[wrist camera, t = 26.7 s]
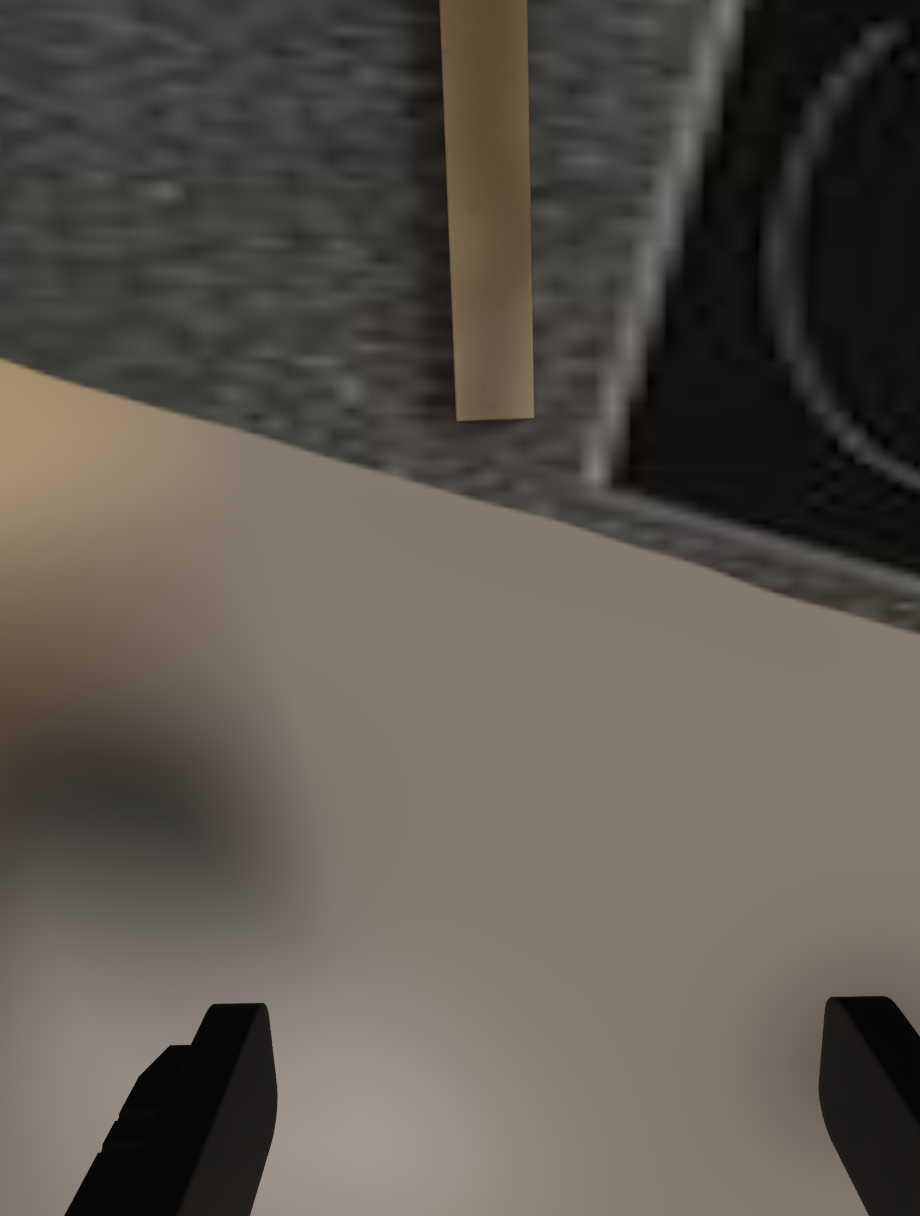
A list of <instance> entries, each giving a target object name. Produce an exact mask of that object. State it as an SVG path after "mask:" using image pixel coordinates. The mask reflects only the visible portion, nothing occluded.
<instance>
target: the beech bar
mask: <svg viewBox="0 0 920 1216" xmlns="http://www.w3.org/2000/svg"><path fill="white" fill-rule="evenodd" d="M439 7H440V32H441V57H442V82H443V107H444V132H445V157H446V181H447V206H448V231H449V256H450V281H451V306H452V331H453V355H454V380H455V405H456V421H457V422H458V423H475V422H499V421H523V420H530V419H532V418H534V371H533V313H532V254H531V196H530V138H529V80H528V22H527V0H439Z"/></svg>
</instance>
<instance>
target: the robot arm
mask: <svg viewBox="0 0 920 1216" xmlns="http://www.w3.org/2000/svg"><path fill="white" fill-rule="evenodd" d="M819 1099H820V1105H821V1110H822V1115H823V1118H824V1122H825V1125H826V1128H827V1131H828V1134H829V1136H830V1138H831V1141H832V1143H833V1145H834V1147H835V1149H836V1151H837V1153H838V1155H839V1157H840V1159H841V1161H842V1163H843V1165H844V1167H845V1169H846V1171H847V1173H848V1175H849V1177H850V1179H851V1181H852V1182H853V1185H854V1187H855V1189H856V1190H857V1192H858V1195H859V1197H860V1198H861V1200H862V1203H863V1205H864V1207H865V1209H866V1211H867V1212H868V1215H869V1216H920V1036H919V1035H918V1033H917V1032H916V1031H915V1029H914V1028H913V1027H912V1025H911V1024H910V1023H909V1021H908V1020H907V1019H906V1017H905V1016H904V1015H903V1013H902V1012H901V1010H900V1009H899V1008H898V1006H897V1005H896V1004H895V1003H894V1002H893V1001H892V1000H891V999H890V998H888V997H885V996H859V997H830V998H829V999H828V1001H827V1003H826V1006H825V1014H824V1026H823V1038H822V1050H821V1062H820V1075H819ZM276 1114H277V1083H276V1073H275V1065H274V1056H273V1047H272V1038H271V1031H270V1021H269V1014H268V1009H267V1006H266V1005H265V1004H264V1003H236V1004H213V1005H212V1006H210V1008H209V1009H208V1011H207V1012H206V1014H205V1017H204V1019H203V1021H202V1023H201V1025H200V1027H199V1029H198V1031H197V1033H196V1035H195V1037H194V1039H193V1041H192V1044H191V1045H170V1046H169V1047H168V1048H167V1049H166V1050H165V1051H164V1052H163V1053H162V1054H161V1055H160V1056H159V1057H158V1058H157V1059H156V1060H155V1061H154V1062H153V1063H152V1064H151V1065H150V1066H149V1067H148V1068H147V1069H146V1070H145V1071H144V1072H143V1073H142V1074H141V1075H140V1076H139V1077H138V1079H137V1081H136V1083H135V1085H134V1087H133V1089H132V1090H131V1092H130V1094H129V1096H128V1098H127V1100H126V1102H125V1104H124V1105H123V1107H122V1109H121V1111H120V1113H119V1119H118V1121H115V1122H114V1124H113V1126H112V1128H111V1130H110V1132H109V1133H108V1135H107V1137H106V1139H105V1141H104V1143H103V1146H102V1151H101V1153H98V1154H97V1156H96V1158H95V1160H94V1161H93V1163H92V1165H91V1167H90V1169H89V1171H88V1173H87V1174H86V1176H85V1178H84V1180H83V1182H82V1184H81V1186H80V1188H79V1189H78V1191H77V1193H76V1195H75V1197H74V1199H73V1201H72V1203H71V1204H70V1206H69V1208H68V1210H67V1212H66V1214H65V1215H64V1216H250V1213H251V1210H252V1207H253V1203H254V1200H255V1196H256V1193H257V1190H258V1187H259V1183H260V1180H261V1176H262V1173H263V1170H264V1166H265V1163H266V1160H267V1156H268V1153H269V1149H270V1146H271V1142H272V1139H273V1134H274V1129H275V1122H276Z"/></svg>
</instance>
